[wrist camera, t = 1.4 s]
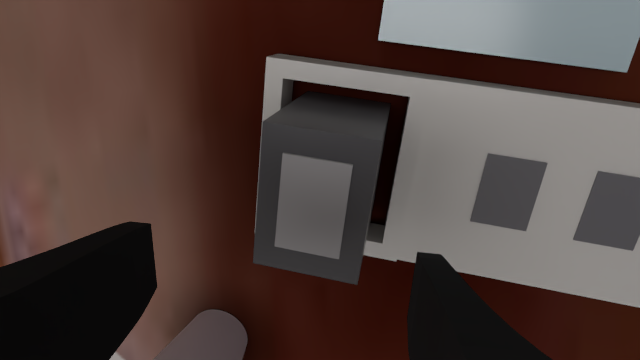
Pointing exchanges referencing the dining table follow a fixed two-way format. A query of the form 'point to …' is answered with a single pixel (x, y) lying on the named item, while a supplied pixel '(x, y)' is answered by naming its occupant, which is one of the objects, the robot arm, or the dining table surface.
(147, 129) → the dining table surface
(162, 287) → the dining table surface
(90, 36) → the dining table surface
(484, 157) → the power strip
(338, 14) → the dining table surface
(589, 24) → the tile
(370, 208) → the block
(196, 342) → the smoothie
